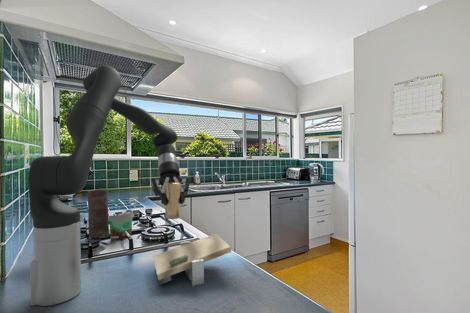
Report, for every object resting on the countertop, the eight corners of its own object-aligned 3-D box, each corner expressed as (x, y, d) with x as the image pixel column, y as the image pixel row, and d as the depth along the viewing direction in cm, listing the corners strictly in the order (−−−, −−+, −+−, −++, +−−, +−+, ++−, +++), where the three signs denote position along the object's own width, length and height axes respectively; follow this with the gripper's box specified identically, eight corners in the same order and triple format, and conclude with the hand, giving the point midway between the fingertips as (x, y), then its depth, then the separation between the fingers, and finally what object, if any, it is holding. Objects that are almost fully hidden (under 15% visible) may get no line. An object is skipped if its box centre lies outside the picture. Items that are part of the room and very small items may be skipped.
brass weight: (166, 219, 86) (166, 184, 86) (164, 216, 91) (164, 182, 91) (181, 218, 88) (181, 183, 88) (179, 215, 93) (179, 182, 93)
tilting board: (159, 284, 64) (155, 269, 63) (154, 264, 76) (151, 251, 75) (232, 255, 71) (229, 241, 71) (217, 241, 83) (214, 229, 83)
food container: (122, 242, 99) (122, 216, 99) (108, 241, 100) (108, 216, 100) (140, 233, 111) (140, 210, 111) (127, 232, 112) (127, 209, 112)
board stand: (192, 285, 65) (192, 262, 65) (180, 261, 80) (180, 242, 80) (203, 283, 66) (203, 260, 66) (189, 259, 82) (189, 240, 82)
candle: (90, 241, 100) (89, 190, 100) (86, 237, 105) (85, 188, 105) (111, 237, 105) (110, 188, 105) (106, 233, 111) (105, 187, 110)
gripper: (185, 173, 104) (192, 208, 93) (148, 174, 98) (151, 211, 87) (188, 160, 99) (196, 195, 88) (149, 160, 94) (152, 198, 82)
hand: (173, 203), depth 88 cm, fingers closed on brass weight, 5 cm apart
